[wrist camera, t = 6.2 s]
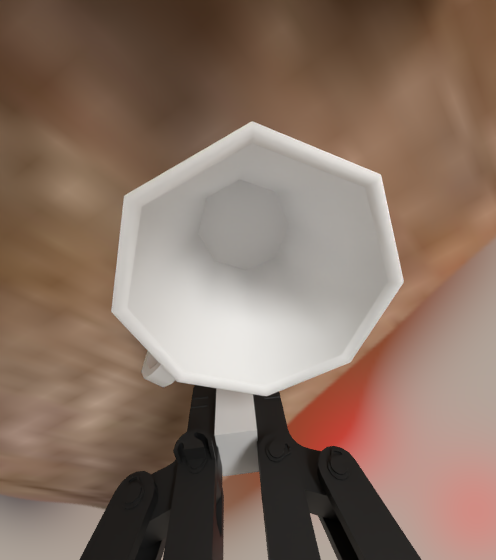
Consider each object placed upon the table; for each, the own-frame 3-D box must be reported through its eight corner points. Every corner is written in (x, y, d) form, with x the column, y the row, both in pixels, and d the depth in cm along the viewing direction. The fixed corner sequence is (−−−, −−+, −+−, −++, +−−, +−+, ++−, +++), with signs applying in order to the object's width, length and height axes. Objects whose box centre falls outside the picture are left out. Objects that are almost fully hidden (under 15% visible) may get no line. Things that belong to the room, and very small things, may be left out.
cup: (332, 214, 13) (463, 277, 6) (219, 331, 16) (212, 471, 9) (233, 111, 11) (246, -1, 3) (121, 271, 13) (-3, 394, 6)
